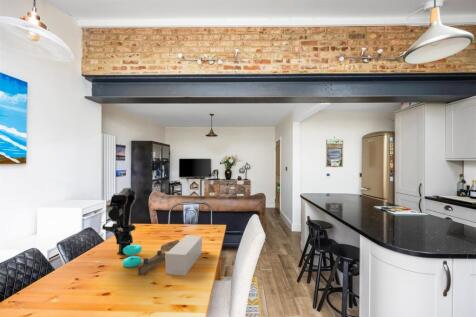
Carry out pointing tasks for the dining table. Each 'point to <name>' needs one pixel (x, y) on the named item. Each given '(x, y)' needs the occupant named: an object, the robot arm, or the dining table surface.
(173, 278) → the dining table surface
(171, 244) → the wooden fragment
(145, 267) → the bar
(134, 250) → the donuts
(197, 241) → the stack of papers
